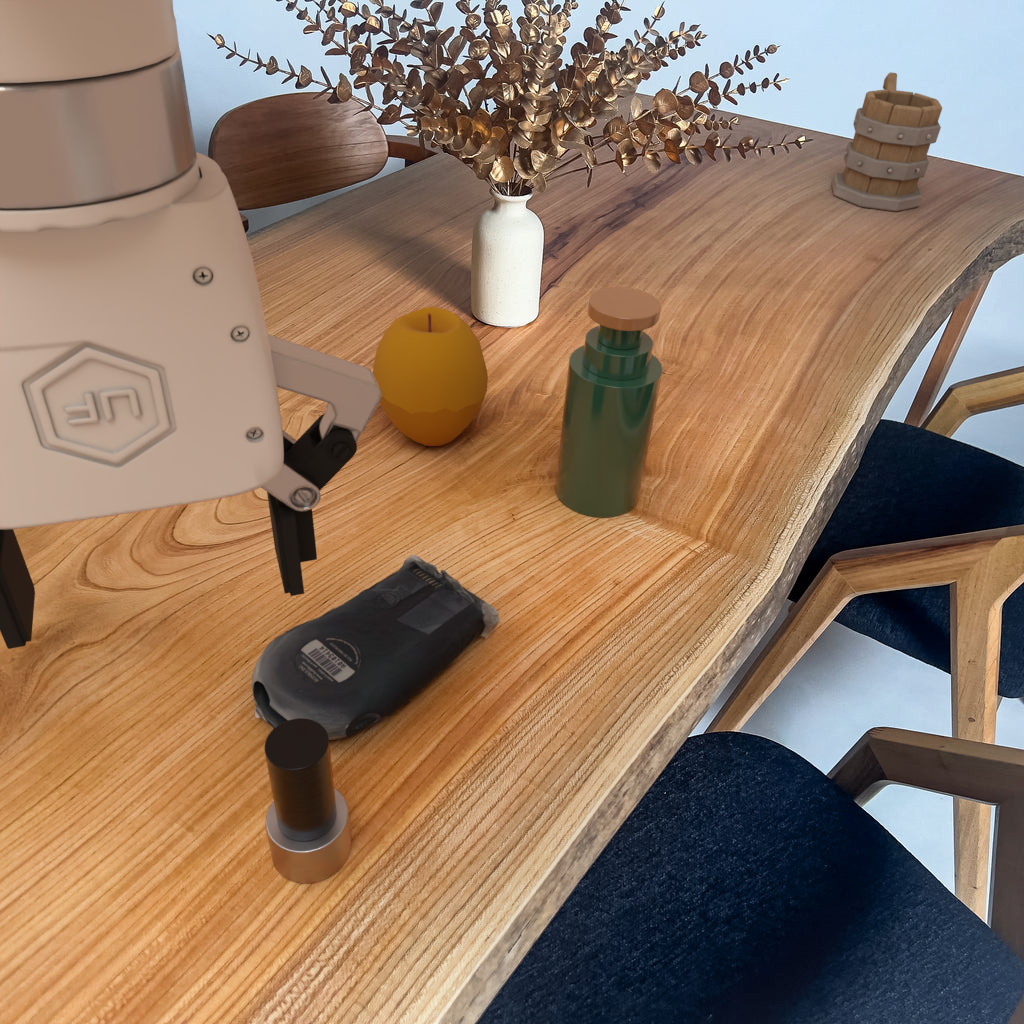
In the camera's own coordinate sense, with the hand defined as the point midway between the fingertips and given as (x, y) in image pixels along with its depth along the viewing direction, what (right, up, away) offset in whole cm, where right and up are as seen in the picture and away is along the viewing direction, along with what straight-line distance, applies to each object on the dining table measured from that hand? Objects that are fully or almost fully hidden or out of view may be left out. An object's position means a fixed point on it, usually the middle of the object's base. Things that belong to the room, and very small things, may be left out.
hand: (161, 595), depth 35 cm
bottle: (+20, +5, +41) cm, 46 cm away
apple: (+6, +10, +46) cm, 47 cm away
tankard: (+70, +54, +107) cm, 138 cm away
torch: (+3, -15, +14) cm, 21 cm away
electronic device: (+4, -7, +24) cm, 26 cm away
